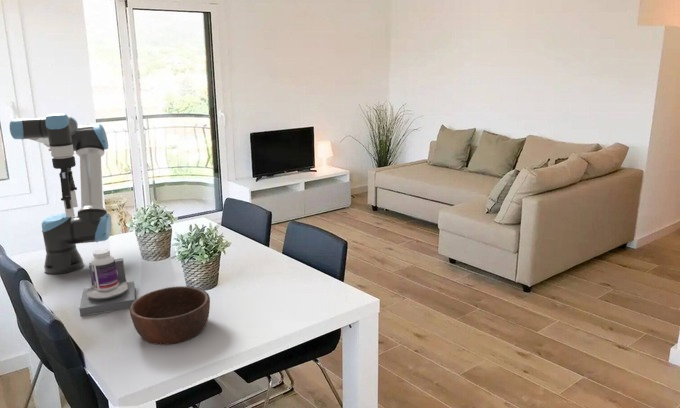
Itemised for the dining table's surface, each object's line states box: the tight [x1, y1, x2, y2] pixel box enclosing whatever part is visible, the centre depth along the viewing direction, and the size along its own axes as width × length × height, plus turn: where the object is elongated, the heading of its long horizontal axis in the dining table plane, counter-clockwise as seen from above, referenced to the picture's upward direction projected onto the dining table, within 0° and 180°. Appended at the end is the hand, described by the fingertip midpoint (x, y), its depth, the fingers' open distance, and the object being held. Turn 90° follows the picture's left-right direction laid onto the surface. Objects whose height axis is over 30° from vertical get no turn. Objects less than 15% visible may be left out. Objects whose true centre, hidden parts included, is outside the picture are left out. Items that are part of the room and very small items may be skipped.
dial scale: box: [78, 257, 136, 317], centre depth 199 cm, size 21×18×12 cm
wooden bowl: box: [129, 286, 211, 346], centre depth 176 cm, size 25×25×10 cm
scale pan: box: [87, 281, 128, 300], centre depth 198 cm, size 14×14×2 cm
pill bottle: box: [90, 248, 119, 291], centre depth 196 cm, size 8×8×14 cm
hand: (72, 211), depth 203 cm, fingers open, 13 cm apart
